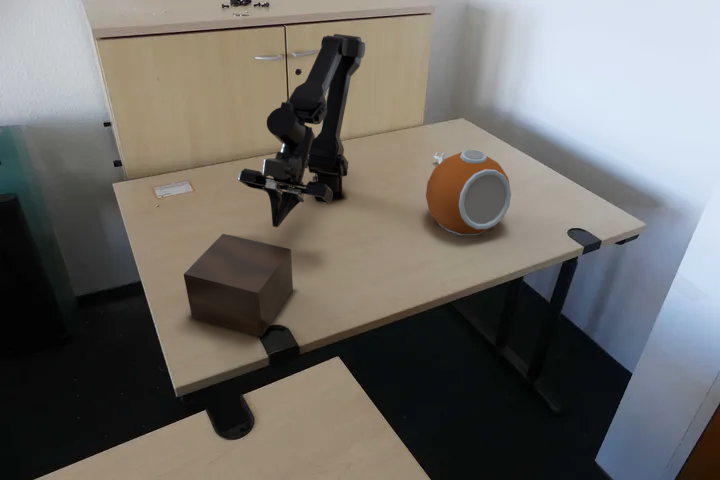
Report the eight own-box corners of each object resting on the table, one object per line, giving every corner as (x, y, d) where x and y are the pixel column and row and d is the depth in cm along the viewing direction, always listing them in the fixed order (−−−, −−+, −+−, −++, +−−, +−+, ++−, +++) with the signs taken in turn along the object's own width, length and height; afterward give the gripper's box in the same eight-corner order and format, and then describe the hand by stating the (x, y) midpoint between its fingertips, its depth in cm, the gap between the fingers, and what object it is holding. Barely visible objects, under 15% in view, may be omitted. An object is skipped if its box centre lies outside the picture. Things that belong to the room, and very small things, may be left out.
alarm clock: (447, 249, 119) (458, 180, 109) (410, 210, 132) (417, 145, 122) (518, 232, 125) (535, 165, 115) (476, 196, 138) (488, 133, 128)
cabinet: (228, 275, 109) (222, 233, 103) (293, 291, 106) (291, 249, 100) (191, 317, 99) (183, 273, 93) (262, 337, 95) (258, 292, 89)
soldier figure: (450, 165, 155) (472, 171, 144) (440, 178, 155) (461, 185, 144) (433, 147, 151) (454, 152, 140) (422, 161, 151) (442, 167, 140)
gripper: (236, 131, 105) (215, 209, 103) (326, 147, 100) (306, 228, 99) (259, 150, 115) (239, 220, 114) (341, 165, 111) (322, 238, 109)
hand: (275, 226), depth 109 cm, fingers closed
